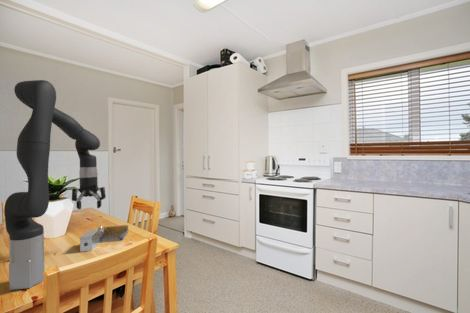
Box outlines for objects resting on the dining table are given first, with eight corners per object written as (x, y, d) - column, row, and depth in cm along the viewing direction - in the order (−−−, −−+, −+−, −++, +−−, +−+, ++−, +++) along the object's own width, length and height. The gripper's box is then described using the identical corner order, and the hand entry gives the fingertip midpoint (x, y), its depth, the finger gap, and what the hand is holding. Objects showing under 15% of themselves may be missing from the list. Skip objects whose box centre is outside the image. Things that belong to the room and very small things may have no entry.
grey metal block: (91, 251, 109) (91, 236, 109) (80, 252, 108) (79, 237, 108) (99, 243, 119) (99, 229, 119) (88, 243, 118) (88, 230, 118)
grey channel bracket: (122, 240, 122) (121, 233, 122) (95, 243, 119) (95, 235, 119) (128, 231, 136) (128, 224, 136) (104, 233, 133) (104, 226, 133)
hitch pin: (103, 234, 132) (103, 229, 132) (98, 235, 131) (97, 230, 131) (103, 230, 138) (102, 226, 138) (97, 231, 136) (97, 226, 136)
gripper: (68, 177, 108) (69, 211, 108) (101, 176, 111) (102, 209, 111) (75, 175, 115) (76, 207, 116) (106, 174, 118) (107, 205, 119)
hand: (89, 208), depth 113 cm, fingers open, 8 cm apart
